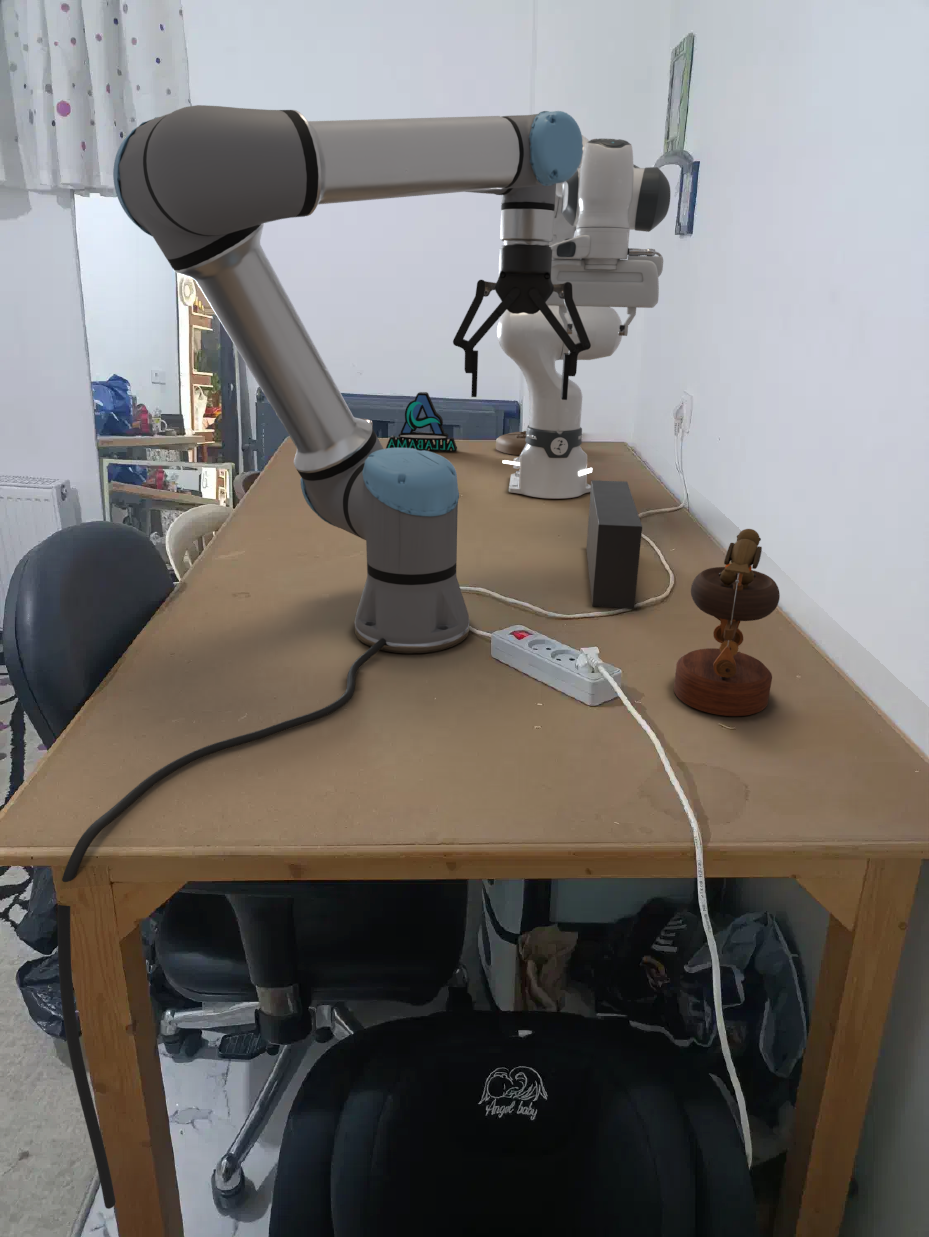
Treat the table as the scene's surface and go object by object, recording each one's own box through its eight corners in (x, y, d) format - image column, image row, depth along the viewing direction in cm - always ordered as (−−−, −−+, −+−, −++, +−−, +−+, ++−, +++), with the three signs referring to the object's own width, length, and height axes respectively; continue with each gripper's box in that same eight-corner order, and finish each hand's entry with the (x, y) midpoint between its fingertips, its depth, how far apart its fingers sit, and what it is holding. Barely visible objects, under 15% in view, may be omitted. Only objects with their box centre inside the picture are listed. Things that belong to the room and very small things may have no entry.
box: (634, 608, 122) (642, 526, 117) (592, 606, 123) (598, 524, 118) (621, 550, 148) (627, 481, 143) (586, 549, 148) (591, 480, 143)
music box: (786, 726, 90) (801, 547, 83) (681, 727, 92) (686, 551, 84) (757, 665, 104) (767, 507, 97) (666, 666, 106) (669, 511, 98)
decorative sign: (457, 450, 228) (457, 393, 222) (456, 451, 225) (457, 394, 220) (387, 448, 229) (386, 391, 223) (386, 449, 226) (384, 392, 221)
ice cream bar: (502, 465, 211) (502, 448, 209) (493, 443, 237) (494, 428, 235) (586, 465, 212) (587, 448, 210) (568, 444, 238) (569, 429, 236)
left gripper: (611, 247, 123) (598, 396, 131) (440, 243, 124) (438, 391, 132) (617, 245, 116) (604, 403, 124) (436, 241, 117) (435, 398, 125)
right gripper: (662, 249, 143) (654, 335, 149) (541, 247, 145) (537, 332, 150) (666, 248, 138) (658, 337, 143) (540, 246, 139) (536, 334, 145)
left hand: (518, 397), depth 128 cm, fingers open, 13 cm apart
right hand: (595, 335), depth 147 cm, fingers open, 8 cm apart
